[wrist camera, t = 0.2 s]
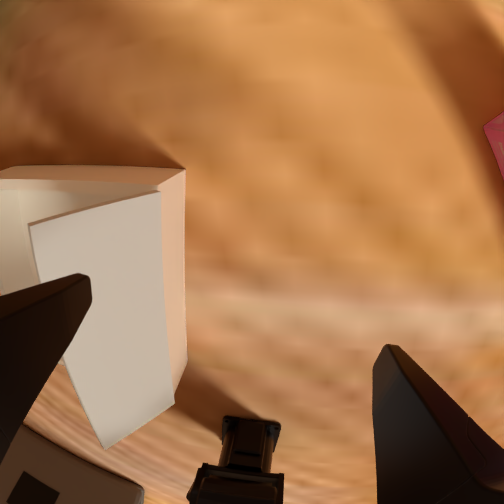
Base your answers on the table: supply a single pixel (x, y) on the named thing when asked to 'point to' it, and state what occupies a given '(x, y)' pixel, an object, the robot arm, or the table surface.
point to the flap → (113, 309)
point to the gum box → (496, 139)
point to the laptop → (57, 476)
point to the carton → (86, 194)
